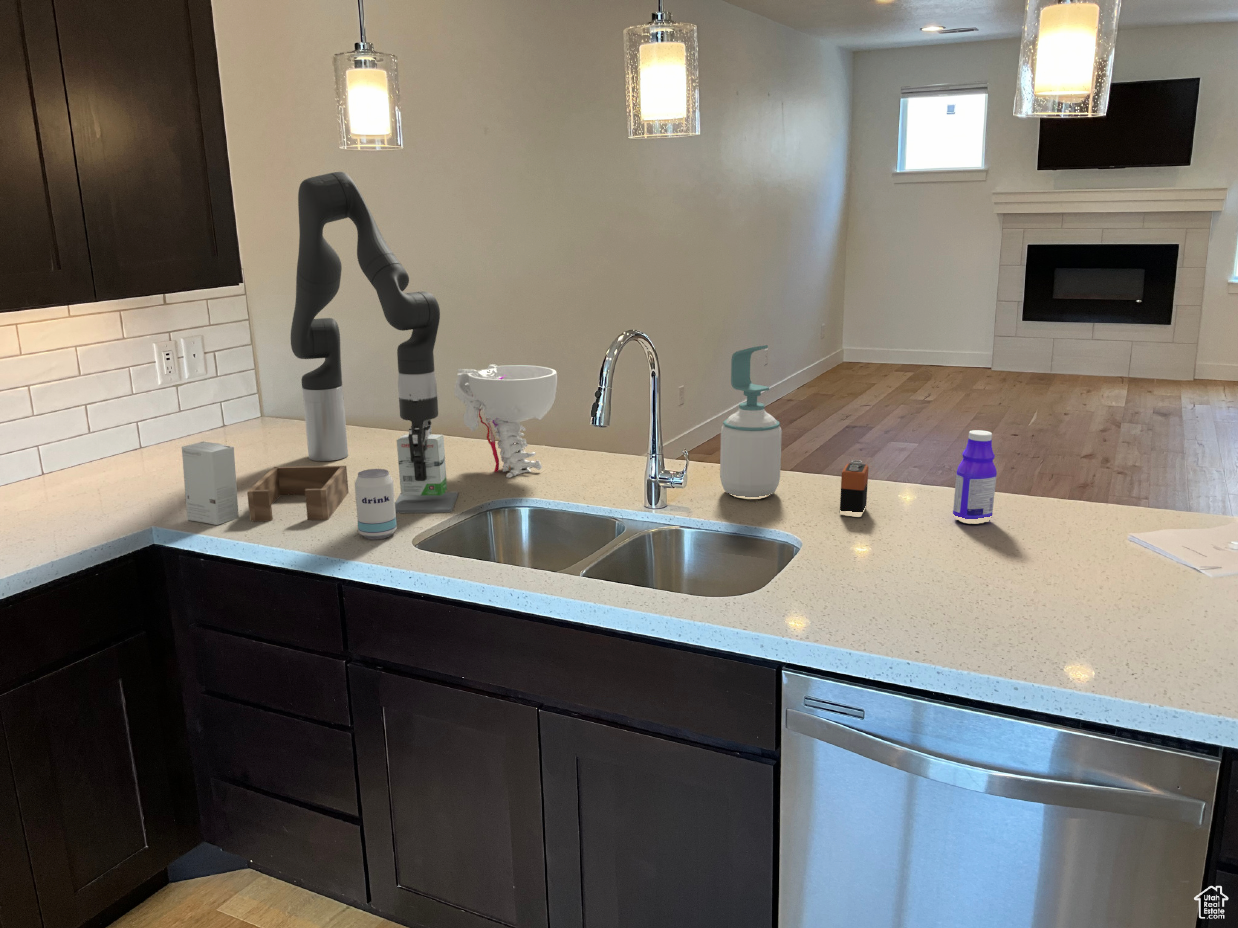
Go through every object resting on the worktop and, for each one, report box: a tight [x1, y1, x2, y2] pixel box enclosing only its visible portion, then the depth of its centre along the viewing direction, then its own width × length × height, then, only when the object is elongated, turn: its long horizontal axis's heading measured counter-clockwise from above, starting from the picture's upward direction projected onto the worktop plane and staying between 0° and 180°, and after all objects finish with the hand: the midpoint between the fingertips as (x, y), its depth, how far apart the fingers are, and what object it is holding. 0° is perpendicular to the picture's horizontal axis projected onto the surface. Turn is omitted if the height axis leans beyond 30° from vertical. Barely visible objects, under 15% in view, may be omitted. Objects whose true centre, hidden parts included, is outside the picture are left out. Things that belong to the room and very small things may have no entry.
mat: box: [395, 491, 459, 514], centre depth 204 cm, size 12×12×1 cm
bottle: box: [952, 429, 998, 519], centre depth 187 cm, size 7×6×17 cm
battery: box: [839, 459, 869, 512], centre depth 194 cm, size 4×7×10 cm, turn 159°
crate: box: [246, 465, 349, 522], centre depth 202 cm, size 18×15×6 cm
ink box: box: [396, 433, 448, 496], centre depth 202 cm, size 9×5×12 cm, turn 84°
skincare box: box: [181, 441, 239, 526], centre depth 194 cm, size 8×6×15 cm
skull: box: [453, 364, 558, 478], centre depth 225 cm, size 25×19×23 cm
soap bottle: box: [719, 344, 783, 497], centre depth 204 cm, size 12×12×31 cm
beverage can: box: [354, 468, 398, 540], centre depth 184 cm, size 7×7×12 cm
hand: (423, 476), depth 202 cm, fingers closed on ink box, 5 cm apart
